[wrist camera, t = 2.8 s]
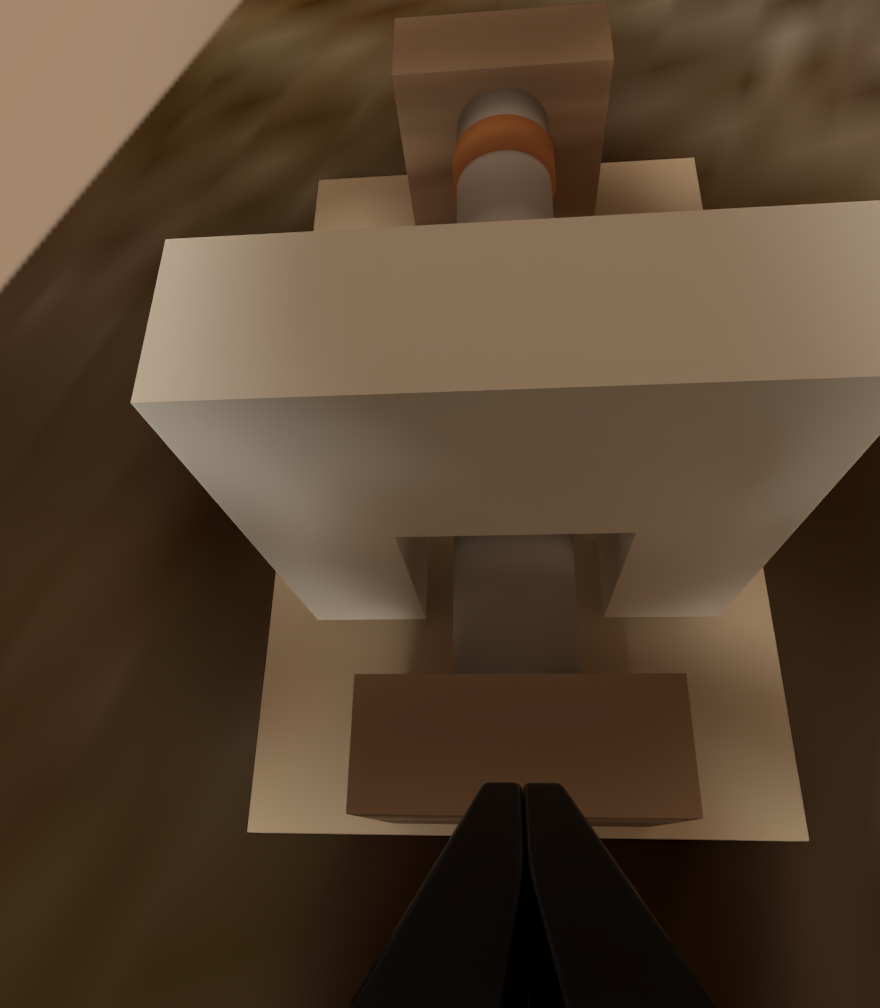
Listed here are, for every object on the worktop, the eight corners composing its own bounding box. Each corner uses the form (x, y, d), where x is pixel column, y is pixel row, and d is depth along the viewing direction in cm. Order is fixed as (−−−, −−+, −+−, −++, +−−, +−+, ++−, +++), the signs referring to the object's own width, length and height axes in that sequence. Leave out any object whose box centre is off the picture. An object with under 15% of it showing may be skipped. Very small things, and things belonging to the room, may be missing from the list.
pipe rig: (791, 841, 15) (936, 837, 10) (261, 833, 16) (141, 826, 11) (686, 185, 23) (738, -15, 18) (326, 205, 24) (273, 22, 18)
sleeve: (718, 616, 16) (933, 374, 8) (317, 620, 17) (130, 401, 9) (699, 479, 17) (866, 150, 9) (328, 488, 18) (176, 192, 10)
